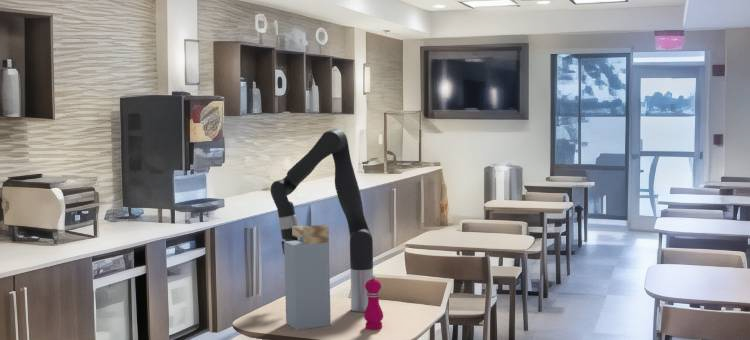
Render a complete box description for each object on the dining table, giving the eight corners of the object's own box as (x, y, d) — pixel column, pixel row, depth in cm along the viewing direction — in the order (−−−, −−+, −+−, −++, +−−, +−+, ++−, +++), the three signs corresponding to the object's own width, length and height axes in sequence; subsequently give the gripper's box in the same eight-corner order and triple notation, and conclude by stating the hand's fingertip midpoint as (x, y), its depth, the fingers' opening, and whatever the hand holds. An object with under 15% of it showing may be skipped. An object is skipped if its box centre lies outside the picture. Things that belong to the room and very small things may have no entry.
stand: (319, 318, 322) (317, 235, 320) (330, 325, 312) (328, 239, 310) (286, 323, 316) (283, 238, 314) (296, 330, 306) (294, 242, 304)
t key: (305, 234, 331) (305, 219, 331) (328, 242, 310) (328, 226, 309) (287, 235, 328) (286, 220, 327) (309, 244, 306) (308, 228, 306)
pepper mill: (381, 330, 304) (380, 277, 302) (362, 329, 305) (361, 276, 304) (385, 325, 311) (384, 273, 310) (366, 324, 312) (365, 273, 311)
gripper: (305, 224, 339) (312, 262, 339) (288, 225, 350) (295, 262, 351) (289, 228, 334) (297, 267, 335) (273, 229, 346) (280, 266, 346)
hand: (296, 264), depth 343 cm, fingers open, 8 cm apart
